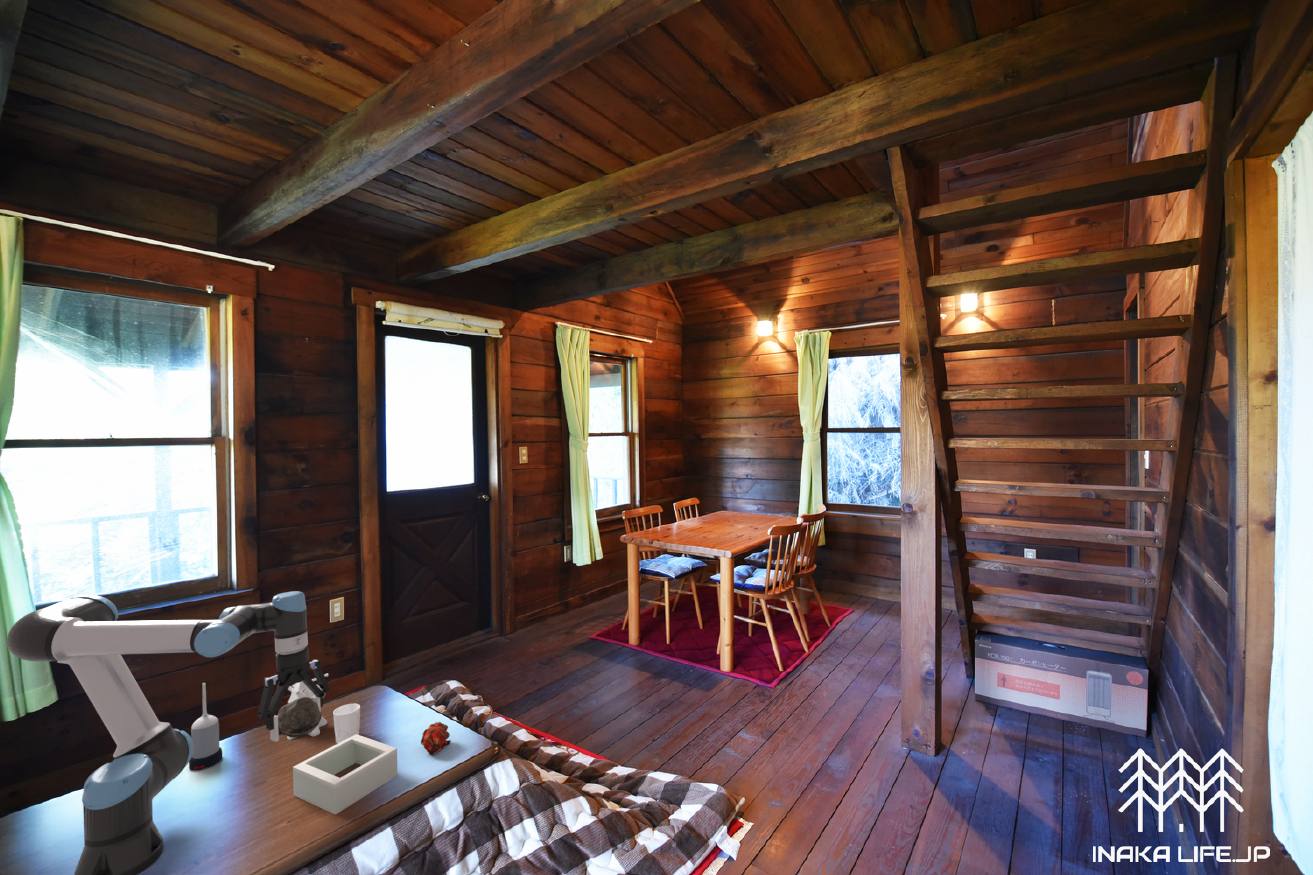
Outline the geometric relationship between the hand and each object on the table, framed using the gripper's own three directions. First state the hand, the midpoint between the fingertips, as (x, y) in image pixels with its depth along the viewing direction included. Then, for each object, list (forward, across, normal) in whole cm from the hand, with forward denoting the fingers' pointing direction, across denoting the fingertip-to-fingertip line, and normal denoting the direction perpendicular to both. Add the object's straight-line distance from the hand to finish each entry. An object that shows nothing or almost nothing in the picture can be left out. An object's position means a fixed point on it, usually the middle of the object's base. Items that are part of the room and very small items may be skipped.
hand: (296, 729), depth 151 cm
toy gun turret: (+21, +24, +39) cm, 50 cm away
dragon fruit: (+22, +35, -12) cm, 43 cm away
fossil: (+1, 0, -1) cm, 1 cm away
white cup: (+21, +26, +21) cm, 40 cm away
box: (+21, +11, -3) cm, 24 cm away
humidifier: (+20, -2, +49) cm, 53 cm away
